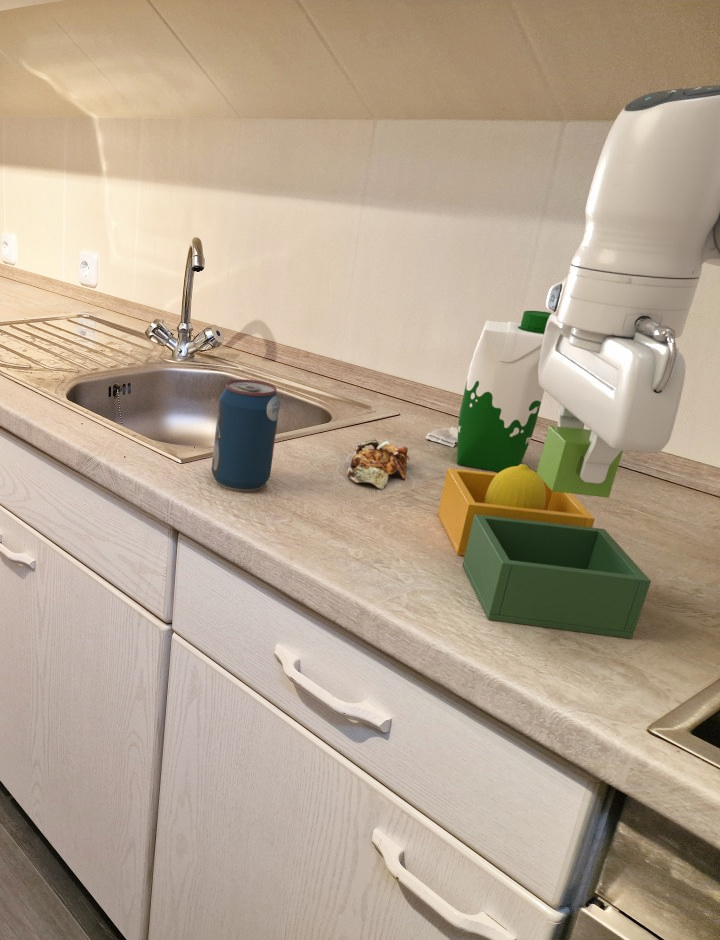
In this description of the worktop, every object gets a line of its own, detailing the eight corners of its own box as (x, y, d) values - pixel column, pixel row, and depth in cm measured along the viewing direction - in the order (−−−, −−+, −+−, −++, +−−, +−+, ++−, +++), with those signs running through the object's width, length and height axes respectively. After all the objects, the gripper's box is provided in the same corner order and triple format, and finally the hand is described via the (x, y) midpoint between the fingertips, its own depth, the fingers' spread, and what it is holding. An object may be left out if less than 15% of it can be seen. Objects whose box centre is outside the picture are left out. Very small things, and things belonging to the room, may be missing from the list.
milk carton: (524, 479, 108) (564, 321, 100) (447, 465, 111) (481, 312, 104) (523, 458, 115) (561, 310, 108) (452, 446, 119) (484, 302, 111)
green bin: (588, 581, 82) (604, 528, 80) (632, 639, 72) (651, 581, 70) (461, 565, 84) (474, 513, 82) (487, 619, 74) (502, 562, 72)
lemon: (478, 520, 93) (495, 451, 90) (534, 531, 91) (553, 461, 88) (476, 539, 89) (493, 467, 86) (535, 551, 86) (555, 478, 83)
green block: (590, 479, 76) (604, 431, 74) (609, 498, 72) (624, 447, 70) (536, 473, 76) (548, 425, 75) (551, 491, 72) (565, 441, 71)
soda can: (280, 487, 101) (294, 389, 97) (238, 498, 98) (251, 397, 93) (239, 468, 107) (251, 375, 102) (198, 478, 103) (208, 381, 98)
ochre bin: (547, 526, 94) (560, 479, 92) (580, 570, 84) (595, 518, 82) (437, 513, 96) (447, 467, 94) (457, 555, 86) (468, 504, 84)
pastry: (341, 482, 104) (345, 455, 102) (354, 453, 114) (358, 428, 113) (401, 494, 101) (407, 465, 100) (409, 463, 111) (414, 437, 110)
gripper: (731, 336, 58) (669, 520, 63) (617, 291, 77) (577, 435, 82) (631, 328, 59) (578, 509, 64) (543, 285, 78) (507, 428, 83)
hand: (577, 467), depth 73 cm, fingers closed on green block, 4 cm apart
